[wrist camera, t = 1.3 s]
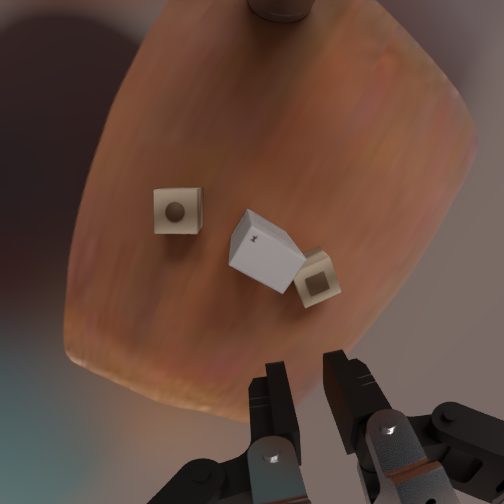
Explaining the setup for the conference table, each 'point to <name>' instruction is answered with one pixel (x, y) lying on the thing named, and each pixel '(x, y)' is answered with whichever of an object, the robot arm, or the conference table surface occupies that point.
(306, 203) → the conference table surface
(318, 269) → the marked block
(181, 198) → the marked block
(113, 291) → the conference table surface
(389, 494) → the robot arm
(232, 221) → the conference table surface
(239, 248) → the skincare box
